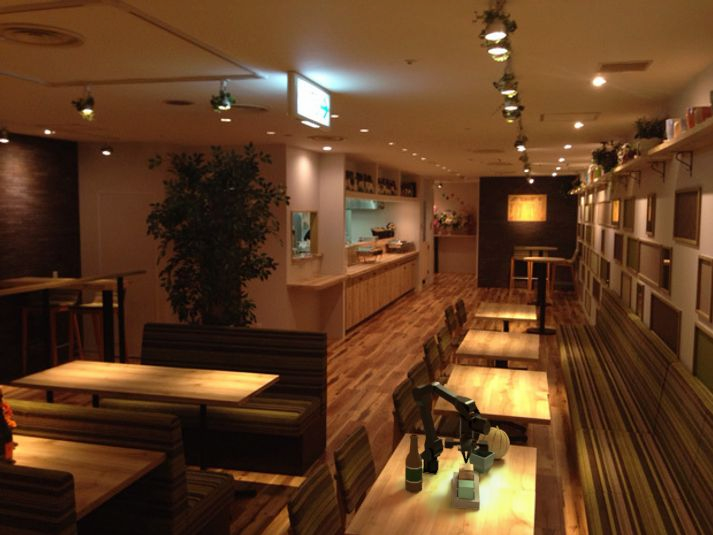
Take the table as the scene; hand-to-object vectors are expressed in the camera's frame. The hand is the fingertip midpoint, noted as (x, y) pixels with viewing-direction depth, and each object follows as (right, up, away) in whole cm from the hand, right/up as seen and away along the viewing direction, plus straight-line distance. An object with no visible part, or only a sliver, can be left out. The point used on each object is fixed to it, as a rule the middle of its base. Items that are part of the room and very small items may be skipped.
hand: (465, 463), depth 274 cm
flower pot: (+9, -8, +14) cm, 18 cm away
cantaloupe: (+18, -6, +28) cm, 34 cm away
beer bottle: (-23, -10, -3) cm, 25 cm away
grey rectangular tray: (-1, -11, -7) cm, 13 cm away
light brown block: (0, -7, +1) cm, 7 cm away
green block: (-3, -9, -15) cm, 17 cm away
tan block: (-1, -8, -7) cm, 10 cm away
